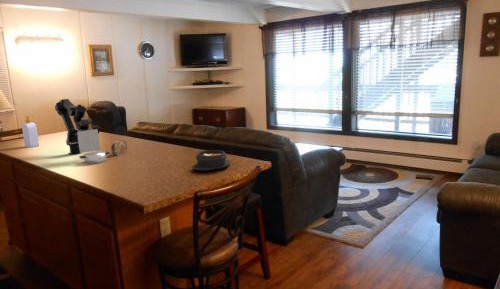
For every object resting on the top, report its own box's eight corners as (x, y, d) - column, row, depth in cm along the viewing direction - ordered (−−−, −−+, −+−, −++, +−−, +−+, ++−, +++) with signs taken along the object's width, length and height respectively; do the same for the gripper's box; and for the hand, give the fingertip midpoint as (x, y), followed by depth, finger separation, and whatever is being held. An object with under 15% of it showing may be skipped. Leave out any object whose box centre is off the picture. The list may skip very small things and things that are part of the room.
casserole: (210, 175, 190) (209, 159, 189) (183, 171, 200) (182, 155, 199) (238, 164, 211) (238, 150, 209) (212, 161, 221) (212, 147, 219)
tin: (115, 156, 240) (114, 143, 238) (111, 156, 241) (109, 143, 239) (127, 151, 254) (126, 139, 253) (123, 151, 255) (122, 139, 253)
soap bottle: (40, 145, 283) (36, 115, 278) (30, 147, 277) (26, 116, 273) (34, 144, 288) (30, 115, 283) (24, 146, 282) (20, 116, 278)
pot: (77, 162, 226) (76, 154, 225) (105, 157, 237) (104, 150, 236) (84, 166, 217) (83, 157, 216) (113, 160, 228) (112, 152, 227)
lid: (80, 153, 226) (79, 152, 228) (100, 149, 234) (99, 149, 236) (77, 131, 225) (75, 131, 227) (97, 129, 233) (95, 129, 235)
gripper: (66, 116, 225) (74, 136, 219) (97, 113, 237) (106, 132, 232) (63, 127, 232) (71, 147, 227) (94, 124, 245) (102, 143, 239)
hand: (88, 142), depth 231 cm, fingers closed, pressing on lid
